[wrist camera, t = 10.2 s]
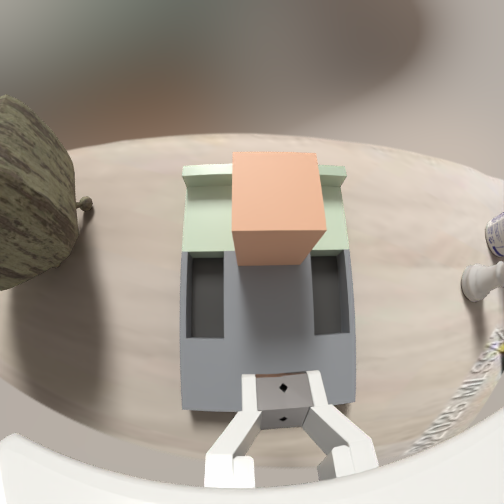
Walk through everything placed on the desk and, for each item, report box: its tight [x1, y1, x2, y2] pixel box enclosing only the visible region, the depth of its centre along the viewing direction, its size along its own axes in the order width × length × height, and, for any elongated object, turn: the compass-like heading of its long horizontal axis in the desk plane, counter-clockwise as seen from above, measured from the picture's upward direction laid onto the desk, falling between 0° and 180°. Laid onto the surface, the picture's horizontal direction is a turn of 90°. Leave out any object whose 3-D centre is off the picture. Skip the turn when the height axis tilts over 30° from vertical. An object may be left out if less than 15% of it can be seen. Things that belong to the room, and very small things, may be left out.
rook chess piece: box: [462, 261, 504, 302], centre depth 20 cm, size 4×4×8 cm
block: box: [232, 152, 327, 266], centre depth 19 cm, size 5×5×8 cm
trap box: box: [180, 164, 356, 412], centre depth 21 cm, size 20×14×4 cm
